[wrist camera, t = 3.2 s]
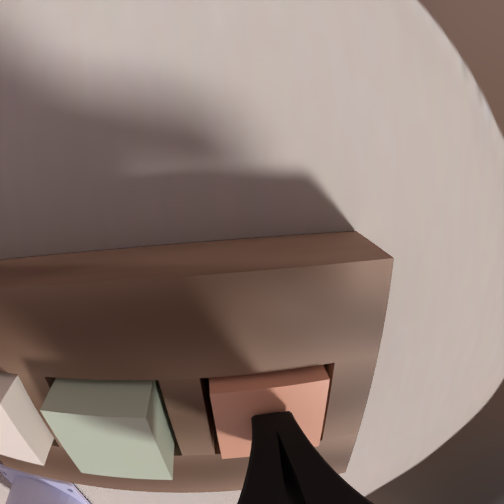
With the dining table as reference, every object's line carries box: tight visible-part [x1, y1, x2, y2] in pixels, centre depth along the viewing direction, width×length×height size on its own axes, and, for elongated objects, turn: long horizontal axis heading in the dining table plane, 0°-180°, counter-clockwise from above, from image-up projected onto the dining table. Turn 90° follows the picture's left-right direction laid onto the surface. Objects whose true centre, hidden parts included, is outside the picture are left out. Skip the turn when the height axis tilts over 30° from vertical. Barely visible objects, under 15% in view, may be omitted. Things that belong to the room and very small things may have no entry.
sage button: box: [40, 378, 175, 480], centre depth 11 cm, size 4×4×3 cm
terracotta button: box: [209, 365, 330, 459], centre depth 12 cm, size 4×4×3 cm
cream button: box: [0, 372, 54, 466], centre depth 10 cm, size 4×4×3 cm
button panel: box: [0, 231, 394, 493], centre depth 12 cm, size 12×20×3 cm, turn 92°
